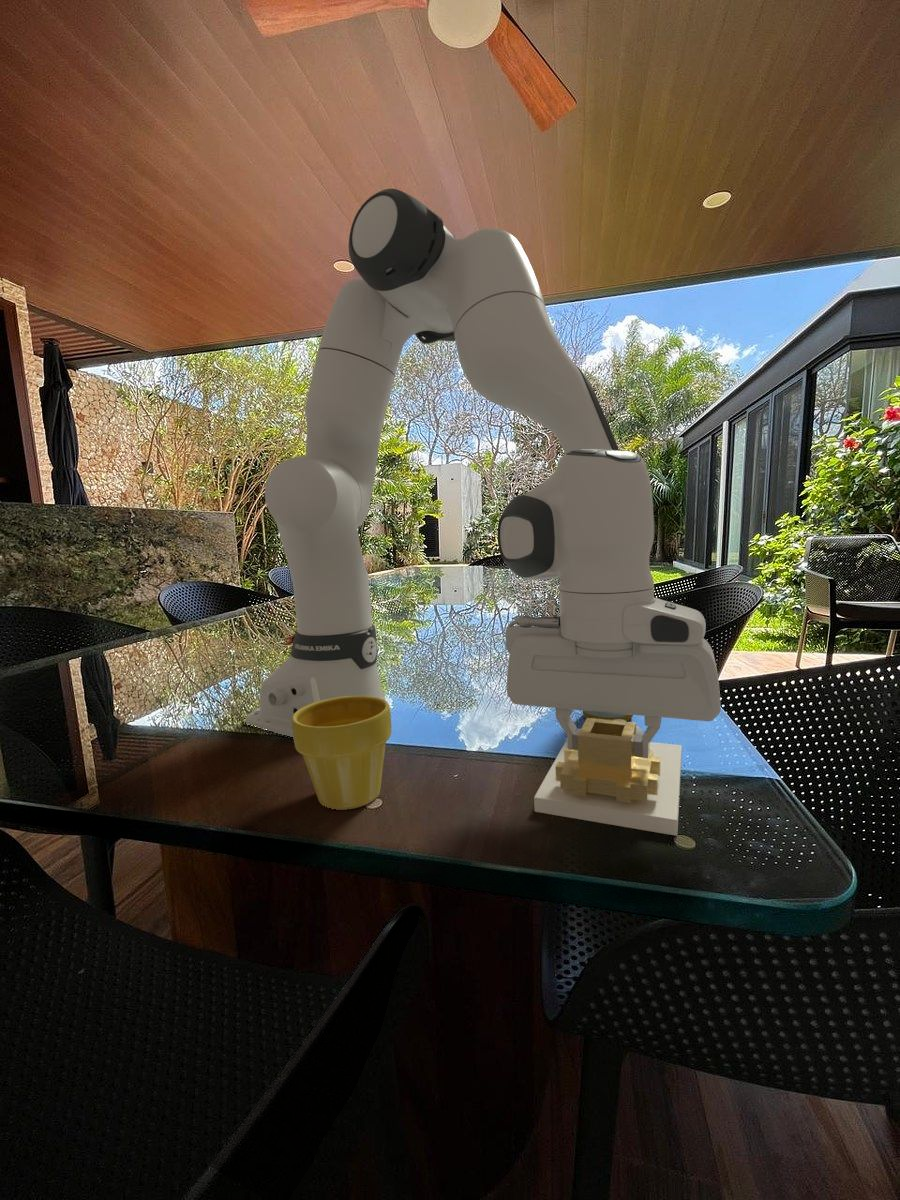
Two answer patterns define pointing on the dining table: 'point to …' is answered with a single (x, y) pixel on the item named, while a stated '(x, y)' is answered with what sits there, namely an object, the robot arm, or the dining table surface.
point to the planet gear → (608, 763)
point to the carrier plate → (606, 809)
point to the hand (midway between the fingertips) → (608, 751)
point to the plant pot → (344, 748)
